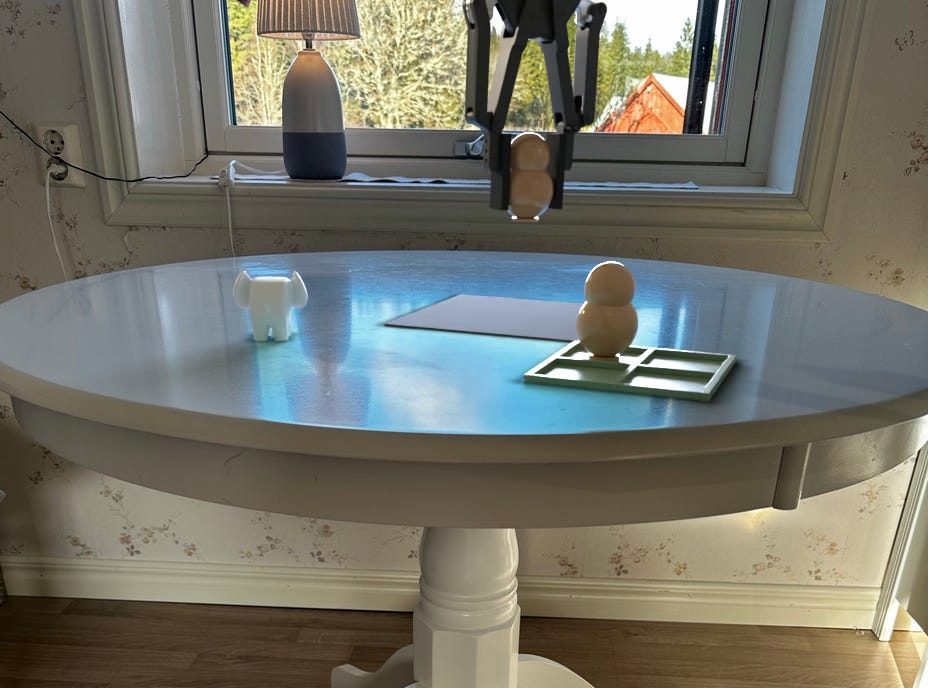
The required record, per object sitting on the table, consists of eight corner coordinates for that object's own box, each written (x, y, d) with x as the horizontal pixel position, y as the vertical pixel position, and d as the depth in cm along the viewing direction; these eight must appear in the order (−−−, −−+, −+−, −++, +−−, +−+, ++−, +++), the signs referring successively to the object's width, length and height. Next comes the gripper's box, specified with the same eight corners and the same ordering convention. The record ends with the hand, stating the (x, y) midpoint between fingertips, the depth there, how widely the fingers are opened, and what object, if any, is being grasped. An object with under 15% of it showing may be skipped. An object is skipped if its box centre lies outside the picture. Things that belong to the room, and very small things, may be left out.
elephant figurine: (314, 331, 93) (310, 266, 90) (305, 349, 86) (301, 278, 83) (244, 331, 92) (238, 265, 90) (230, 348, 85) (222, 278, 83)
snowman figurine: (640, 355, 83) (650, 260, 79) (626, 367, 78) (636, 267, 75) (582, 349, 84) (589, 256, 81) (565, 361, 80) (572, 263, 76)
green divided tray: (735, 365, 81) (736, 354, 81) (707, 406, 69) (709, 393, 69) (573, 350, 86) (574, 340, 85) (522, 386, 74) (523, 374, 74)
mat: (631, 311, 103) (631, 306, 103) (580, 346, 87) (581, 341, 87) (460, 298, 110) (460, 294, 110) (384, 329, 94) (384, 323, 94)
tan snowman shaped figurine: (558, 220, 95) (564, 132, 91) (542, 224, 91) (547, 133, 87) (509, 217, 97) (512, 131, 93) (491, 221, 93) (494, 132, 89)
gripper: (609, -72, 88) (587, 203, 99) (426, -89, 82) (425, 207, 93) (654, -85, 82) (626, 210, 93) (460, -105, 76) (455, 214, 87)
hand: (526, 208), depth 93 cm, fingers closed on tan snowman shaped figurine, 5 cm apart
